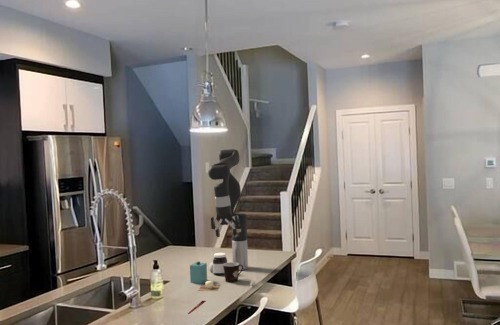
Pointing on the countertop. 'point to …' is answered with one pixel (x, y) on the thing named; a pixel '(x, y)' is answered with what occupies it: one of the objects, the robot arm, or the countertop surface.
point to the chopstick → (197, 306)
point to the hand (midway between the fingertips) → (226, 236)
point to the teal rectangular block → (198, 272)
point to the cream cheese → (209, 284)
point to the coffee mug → (231, 271)
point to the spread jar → (218, 264)
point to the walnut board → (203, 288)
